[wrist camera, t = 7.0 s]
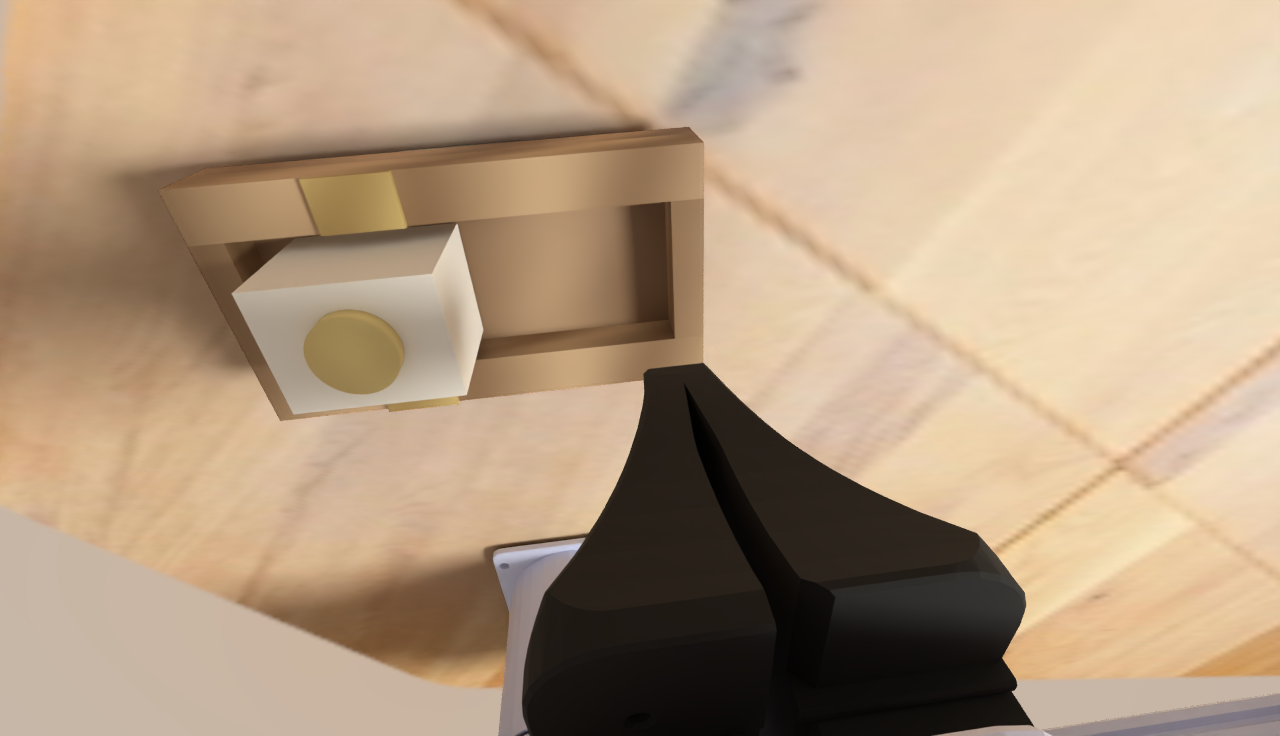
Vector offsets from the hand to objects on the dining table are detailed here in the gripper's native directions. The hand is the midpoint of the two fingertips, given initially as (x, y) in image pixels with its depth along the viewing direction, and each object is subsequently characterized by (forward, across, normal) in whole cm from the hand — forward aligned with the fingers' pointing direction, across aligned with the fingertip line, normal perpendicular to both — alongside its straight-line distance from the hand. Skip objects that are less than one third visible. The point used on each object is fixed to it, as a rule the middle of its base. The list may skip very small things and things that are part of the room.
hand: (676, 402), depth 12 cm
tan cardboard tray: (+10, +6, 0) cm, 12 cm away
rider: (+8, +8, 0) cm, 11 cm away
